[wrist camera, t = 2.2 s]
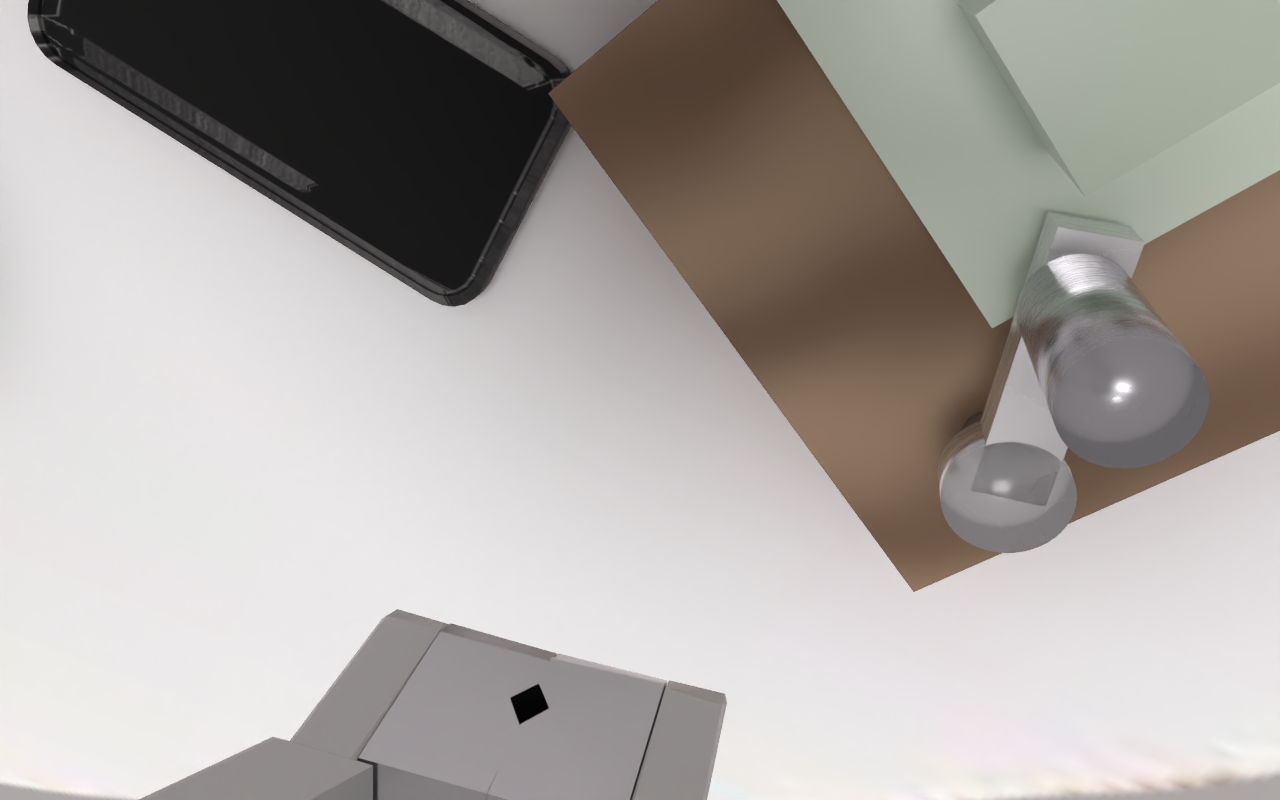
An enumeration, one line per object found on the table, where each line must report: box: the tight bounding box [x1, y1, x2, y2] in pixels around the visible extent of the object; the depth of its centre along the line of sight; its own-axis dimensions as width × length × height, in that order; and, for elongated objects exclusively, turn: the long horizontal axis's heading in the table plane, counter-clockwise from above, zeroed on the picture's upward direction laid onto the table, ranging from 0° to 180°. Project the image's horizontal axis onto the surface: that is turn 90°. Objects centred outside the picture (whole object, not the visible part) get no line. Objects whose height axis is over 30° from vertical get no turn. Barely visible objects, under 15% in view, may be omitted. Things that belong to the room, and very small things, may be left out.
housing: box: [548, 0, 1280, 592], centre depth 20 cm, size 16×20×4 cm
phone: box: [28, 0, 571, 306], centre depth 26 cm, size 8×1×15 cm
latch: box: [938, 212, 1209, 553], centre depth 18 cm, size 7×3×6 cm, turn 173°
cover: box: [777, 0, 1280, 328], centre depth 17 cm, size 9×9×5 cm
